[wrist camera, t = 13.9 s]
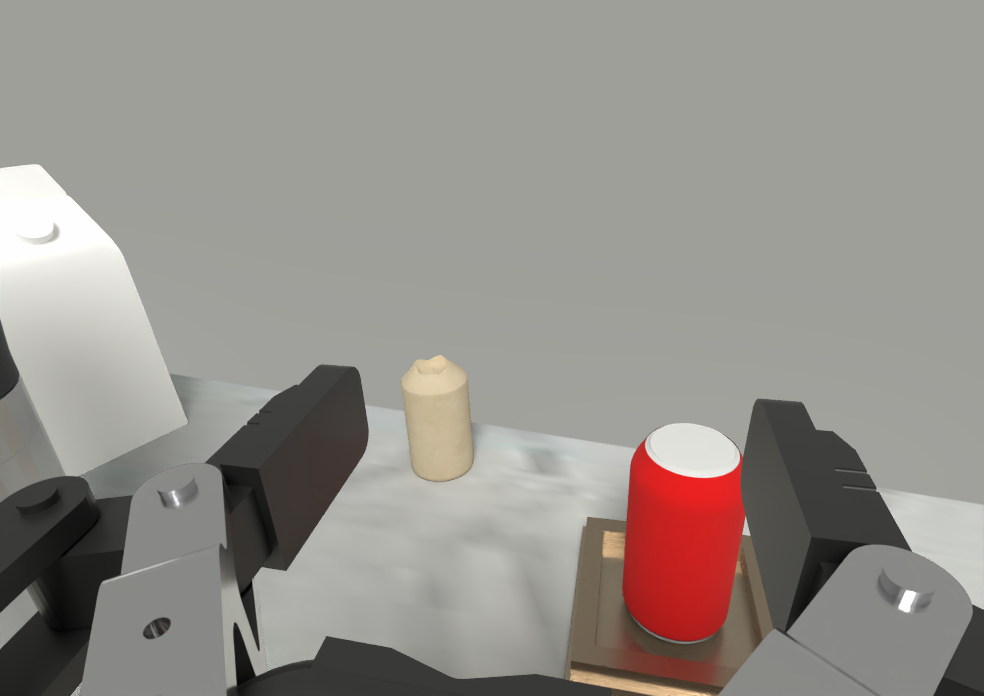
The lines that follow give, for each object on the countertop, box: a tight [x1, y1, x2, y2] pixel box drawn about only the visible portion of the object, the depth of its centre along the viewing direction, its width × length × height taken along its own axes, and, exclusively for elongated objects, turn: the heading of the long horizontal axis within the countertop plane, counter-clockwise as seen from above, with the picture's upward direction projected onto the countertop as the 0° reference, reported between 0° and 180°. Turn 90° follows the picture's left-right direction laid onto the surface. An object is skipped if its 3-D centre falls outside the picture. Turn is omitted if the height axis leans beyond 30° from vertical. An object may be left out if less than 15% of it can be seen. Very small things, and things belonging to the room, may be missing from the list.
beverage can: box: [622, 423, 746, 644], centre depth 33 cm, size 6×6×12 cm
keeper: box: [565, 517, 774, 696], centre depth 35 cm, size 12×12×2 cm
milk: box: [0, 164, 188, 477], centre depth 53 cm, size 12×12×26 cm
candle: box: [401, 355, 473, 481], centre depth 49 cm, size 6×6×10 cm
